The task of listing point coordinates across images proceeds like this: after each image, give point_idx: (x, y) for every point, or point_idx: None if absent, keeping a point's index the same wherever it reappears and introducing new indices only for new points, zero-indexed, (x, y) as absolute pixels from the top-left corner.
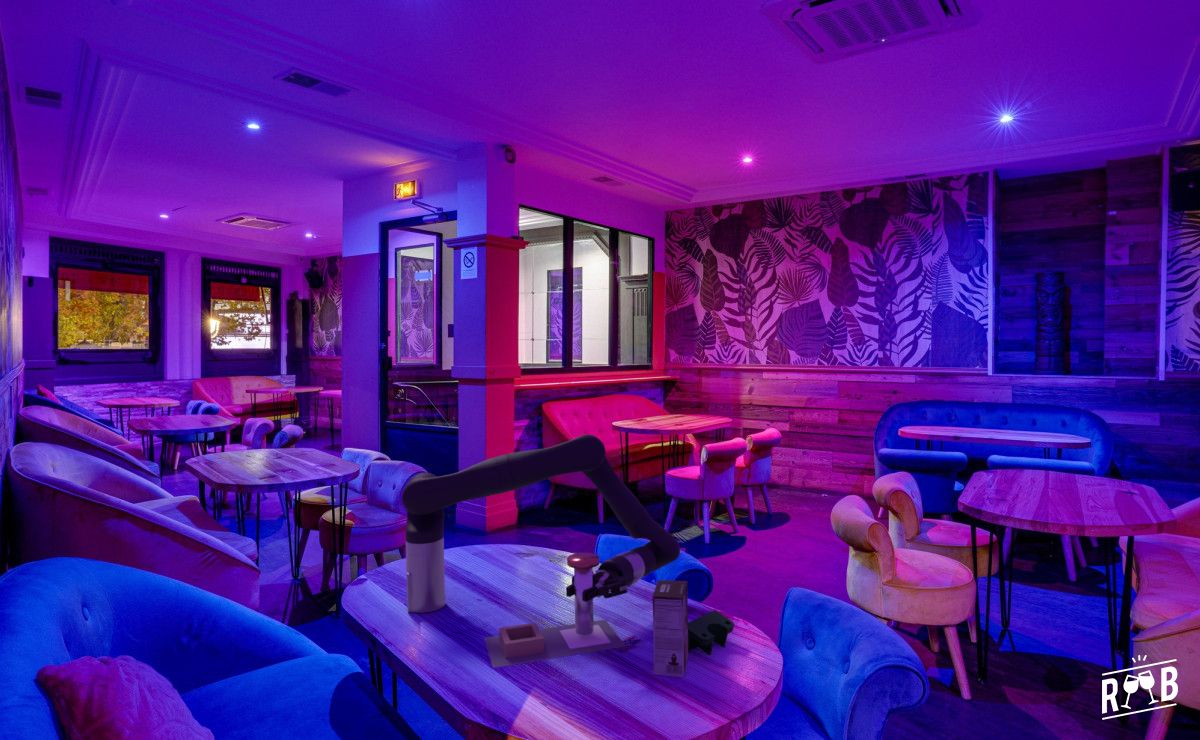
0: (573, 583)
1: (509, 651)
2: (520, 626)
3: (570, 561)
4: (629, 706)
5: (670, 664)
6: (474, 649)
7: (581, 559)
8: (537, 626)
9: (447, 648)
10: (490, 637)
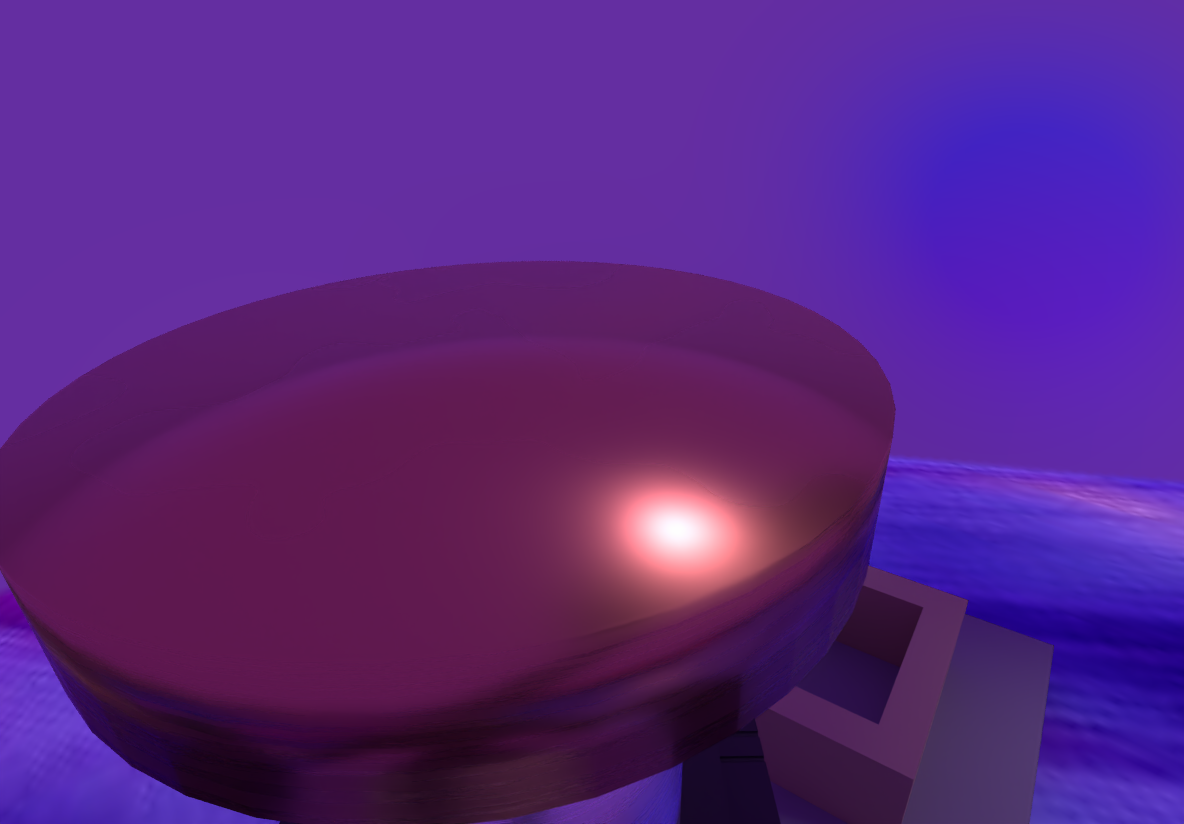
0: (717, 762)
1: None
2: (911, 675)
3: (572, 262)
4: (44, 671)
5: None
6: (1003, 623)
7: (457, 325)
8: (835, 740)
9: (1080, 571)
10: (1037, 665)
